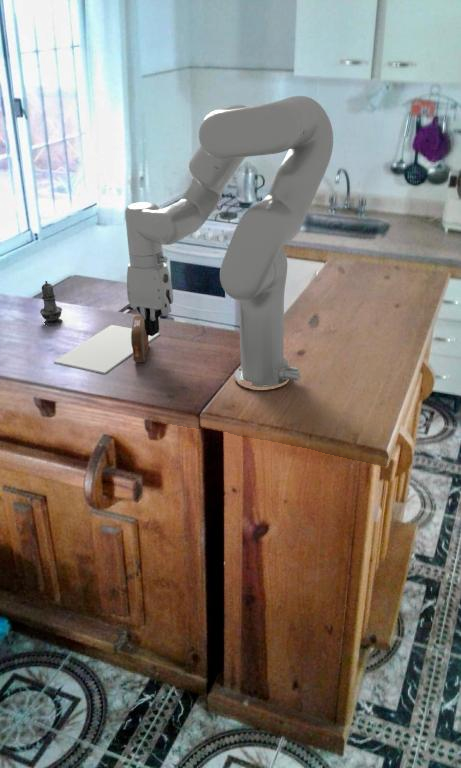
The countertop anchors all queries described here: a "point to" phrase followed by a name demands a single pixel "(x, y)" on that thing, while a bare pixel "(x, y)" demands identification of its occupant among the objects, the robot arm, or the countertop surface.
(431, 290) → the countertop surface
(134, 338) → the tin
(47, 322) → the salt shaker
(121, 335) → the felt mat
